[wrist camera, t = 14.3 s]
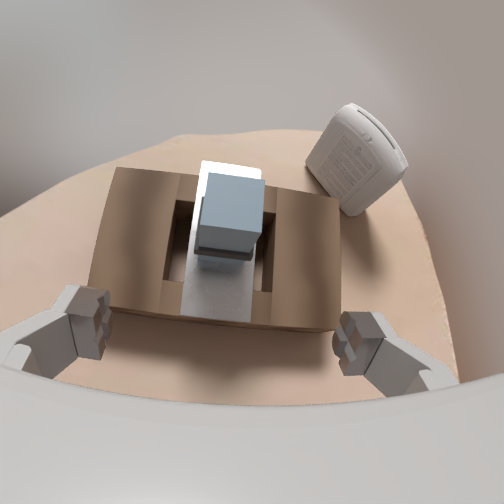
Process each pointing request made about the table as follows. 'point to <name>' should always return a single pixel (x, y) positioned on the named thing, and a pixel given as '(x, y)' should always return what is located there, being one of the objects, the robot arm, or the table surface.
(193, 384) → the table surface
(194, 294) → the white rectangular bar
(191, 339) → the table surface
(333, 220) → the brown tissue box
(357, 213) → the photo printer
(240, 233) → the blue-gray rectangular block
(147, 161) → the table surface
